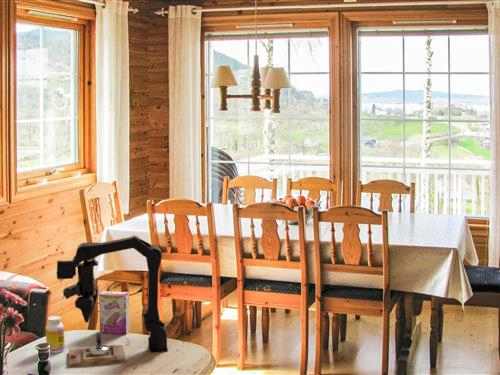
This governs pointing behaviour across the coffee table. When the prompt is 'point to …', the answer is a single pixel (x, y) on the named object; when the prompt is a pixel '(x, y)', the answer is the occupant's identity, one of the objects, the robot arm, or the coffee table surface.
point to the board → (84, 359)
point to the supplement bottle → (55, 334)
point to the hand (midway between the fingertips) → (88, 318)
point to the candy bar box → (114, 312)
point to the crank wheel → (99, 348)
